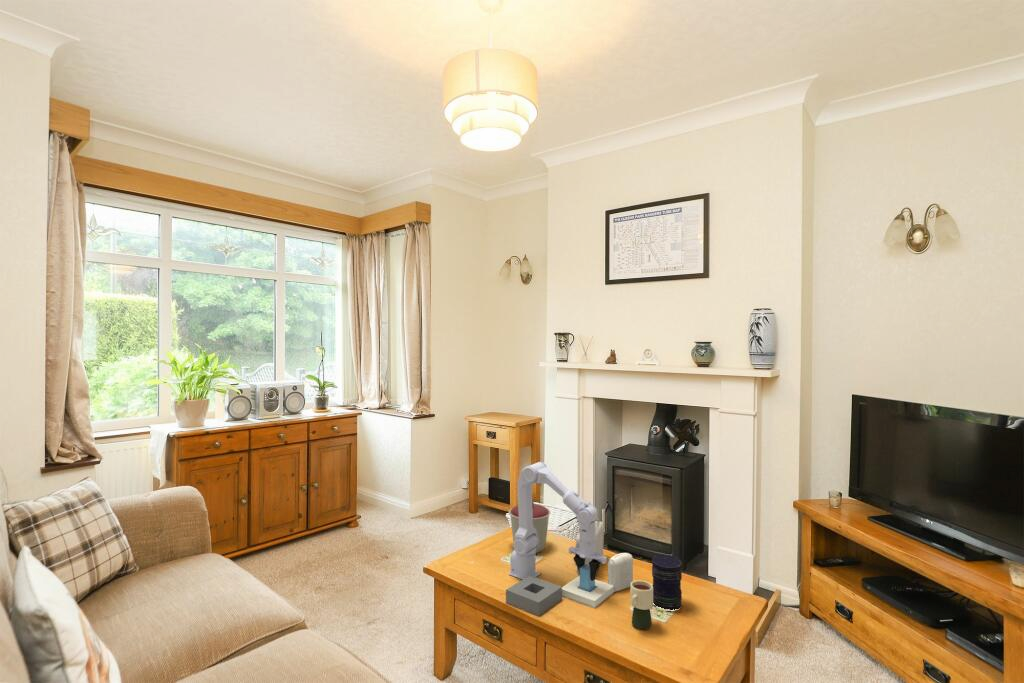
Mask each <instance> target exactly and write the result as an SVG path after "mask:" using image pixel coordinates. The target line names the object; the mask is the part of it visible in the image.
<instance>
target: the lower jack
mask: <svg viewBox="0 0 1024 683" xmlns="http://www.w3.org/2000/svg"><path fill="white" fill-rule="evenodd" d="M561 587H562V598H565V599H566V598H567V599H568V600H571V601H573V602H576V603H579V604H582V605H585V606H587V607H590V608H593V609H596V608H597V607H598V606H600V605H601V604H603V603H604V602H605V600H607V599H608V598H609V597H611V596H612V595H613V594H614V593H615V592H614V586H613V585H610V584H608V582H604V581H601V580H598V579H595V589H594V590H593V591H591V592H588V591H585V590H582V589H580V575H578V576H577V577H575V578H574V579H572V580H571V581H570V582H568V583H566V584H565V585H563V586H561Z"/></svg>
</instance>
